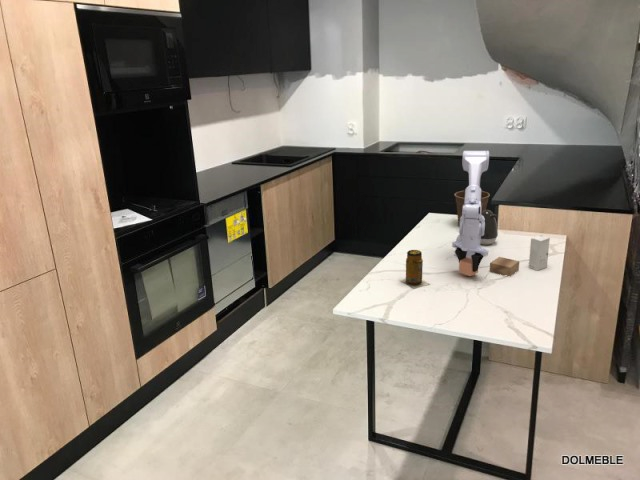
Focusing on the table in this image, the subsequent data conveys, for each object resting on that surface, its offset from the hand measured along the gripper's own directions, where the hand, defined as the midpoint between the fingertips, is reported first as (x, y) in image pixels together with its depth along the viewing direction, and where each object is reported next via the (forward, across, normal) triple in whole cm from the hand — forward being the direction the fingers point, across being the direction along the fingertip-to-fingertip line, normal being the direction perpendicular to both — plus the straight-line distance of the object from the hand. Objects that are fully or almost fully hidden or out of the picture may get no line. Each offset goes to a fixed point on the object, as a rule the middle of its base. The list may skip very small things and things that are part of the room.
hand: (468, 269), depth 191 cm
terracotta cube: (+1, 0, 0) cm, 1 cm away
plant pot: (+3, -35, +51) cm, 62 cm away
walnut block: (+3, +7, +13) cm, 15 cm away
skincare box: (+3, +14, +25) cm, 29 cm away
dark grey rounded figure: (+3, -16, +35) cm, 39 cm away
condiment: (+3, -10, -19) cm, 22 cm away
